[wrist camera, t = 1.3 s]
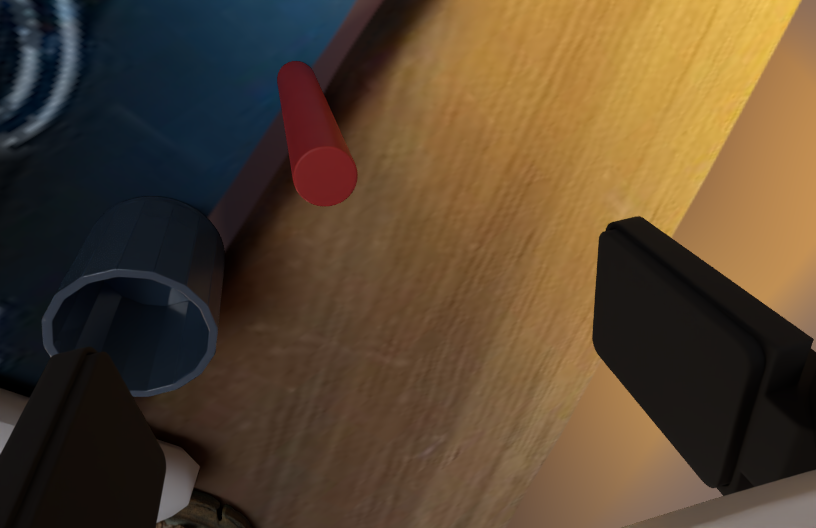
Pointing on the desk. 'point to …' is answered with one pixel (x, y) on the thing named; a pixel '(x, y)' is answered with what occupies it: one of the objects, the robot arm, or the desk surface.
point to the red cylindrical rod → (314, 139)
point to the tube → (181, 469)
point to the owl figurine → (204, 515)
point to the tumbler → (143, 294)
